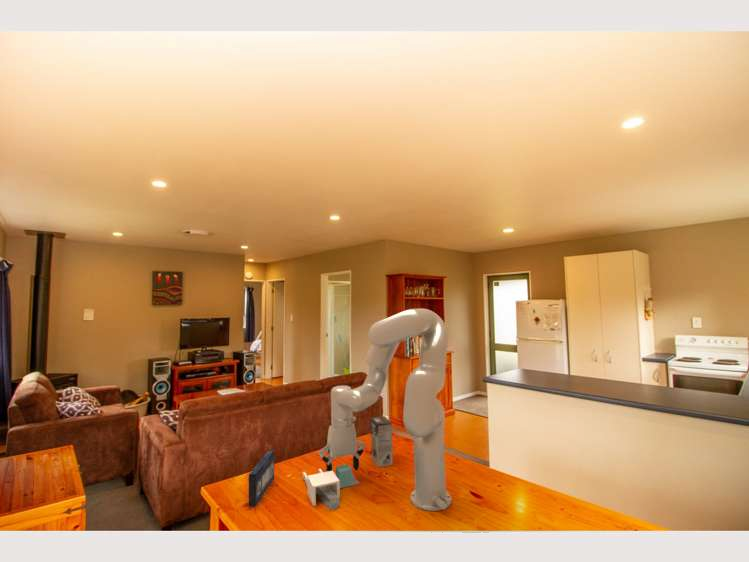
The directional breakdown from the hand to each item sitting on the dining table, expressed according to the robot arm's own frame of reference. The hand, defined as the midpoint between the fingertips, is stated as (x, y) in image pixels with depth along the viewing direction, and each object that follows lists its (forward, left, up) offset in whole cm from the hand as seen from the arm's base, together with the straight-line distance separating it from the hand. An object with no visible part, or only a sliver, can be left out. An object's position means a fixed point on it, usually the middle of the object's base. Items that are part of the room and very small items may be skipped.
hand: (342, 471), depth 127 cm
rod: (-9, +9, -4) cm, 13 cm away
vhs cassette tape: (+5, +27, -4) cm, 27 cm away
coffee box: (+9, -19, -3) cm, 21 cm away
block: (-1, 0, -3) cm, 3 cm away
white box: (-1, +9, -3) cm, 10 cm away
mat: (0, 0, -3) cm, 3 cm away
